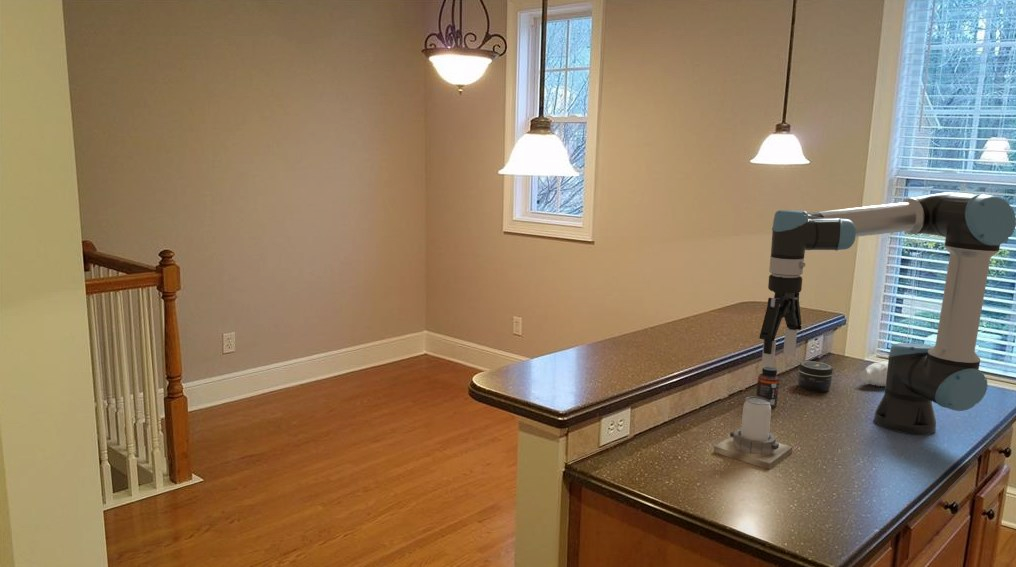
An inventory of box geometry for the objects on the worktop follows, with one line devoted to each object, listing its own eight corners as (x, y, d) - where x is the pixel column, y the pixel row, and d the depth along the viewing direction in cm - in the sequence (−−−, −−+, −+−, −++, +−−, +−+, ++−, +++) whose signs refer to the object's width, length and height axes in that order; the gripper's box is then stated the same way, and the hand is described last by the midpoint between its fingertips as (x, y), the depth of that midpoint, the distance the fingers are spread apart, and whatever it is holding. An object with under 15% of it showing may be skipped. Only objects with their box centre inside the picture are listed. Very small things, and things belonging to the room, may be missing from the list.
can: (746, 452, 178) (750, 404, 176) (735, 441, 185) (739, 395, 183) (771, 451, 179) (776, 404, 177) (760, 441, 185) (765, 395, 183)
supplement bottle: (778, 409, 214) (782, 372, 212) (756, 407, 215) (760, 370, 213) (775, 403, 220) (778, 366, 218) (754, 401, 221) (757, 364, 219)
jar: (831, 386, 238) (833, 363, 237) (830, 395, 229) (832, 371, 228) (797, 381, 242) (800, 358, 241) (795, 389, 233) (798, 366, 232)
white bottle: (852, 384, 242) (854, 360, 240) (895, 379, 248) (898, 356, 247) (871, 391, 234) (874, 367, 233) (915, 386, 241) (918, 363, 239)
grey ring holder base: (791, 452, 183) (793, 435, 182) (769, 469, 173) (771, 451, 172) (738, 436, 192) (739, 420, 191) (713, 452, 182) (715, 434, 181)
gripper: (781, 283, 165) (774, 374, 169) (819, 270, 183) (812, 353, 187) (749, 279, 170) (742, 368, 174) (789, 267, 188) (782, 347, 192)
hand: (778, 360), depth 180 cm, fingers open, 13 cm apart
